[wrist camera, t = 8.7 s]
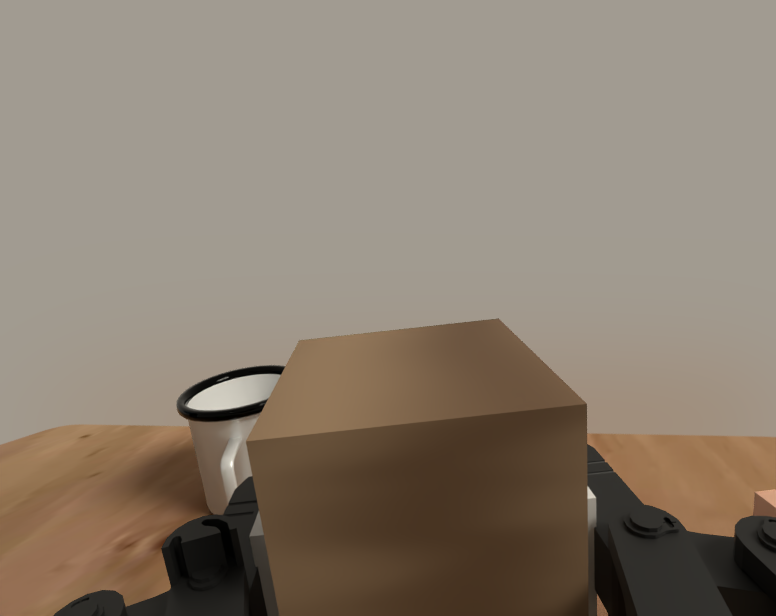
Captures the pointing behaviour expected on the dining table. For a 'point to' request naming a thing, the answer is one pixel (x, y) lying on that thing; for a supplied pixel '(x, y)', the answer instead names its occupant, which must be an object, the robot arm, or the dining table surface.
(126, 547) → the dining table surface
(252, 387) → the mug
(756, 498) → the terracotta block
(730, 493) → the dining table surface
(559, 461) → the walnut block
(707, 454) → the dining table surface
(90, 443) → the dining table surface
